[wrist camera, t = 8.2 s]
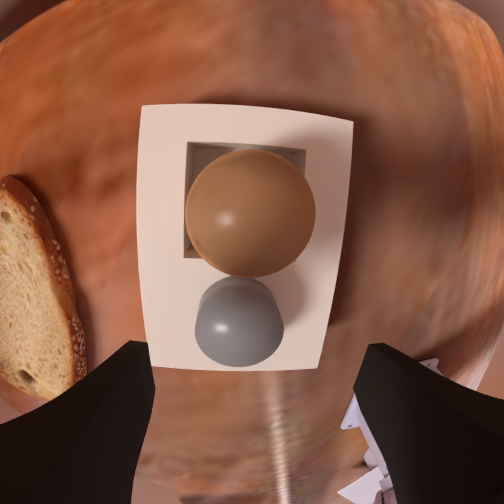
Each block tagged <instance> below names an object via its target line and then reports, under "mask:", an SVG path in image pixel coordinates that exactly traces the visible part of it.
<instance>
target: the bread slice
mask: <svg viewBox="0 0 504 504" xmlns="http://www.w3.org/2000/svg"><path fill="white" fill-rule="evenodd" d="M86 363H87V357H86V345H85V339H84V328H83V326H82V323H81V320H80V318H79V315H78V312H77V309H76V298H75V291H74V288H73V285H72V282H71V279H70V274H69V271H68V268H67V265H66V262H65V260H64V257H63V254H62V251H61V248H60V245H59V242H58V239H57V237H56V235H55V232H54V230H53V228H52V226H51V224H50V222H49V220H48V218H47V216H46V214H45V212H44V211H43V209H42V207H41V205H40V203H39V201H38V200H37V199H36V197H35V196H34V195H33V194H32V192H31V191H30V190H29V189H28V188H27V187H26V186H25V185H24V184H23V183H22V182H21V181H19V180H17V179H15V178H13V177H12V176H7V177H4V178H2V179H1V180H0V373H1V374H2V375H3V377H4V379H6V381H9V383H11V384H12V385H13V386H15V387H16V388H18V389H20V390H22V391H24V392H25V393H27V394H29V395H31V396H33V397H36V398H40V399H43V400H47V401H51V400H52V399H54V398H56V397H57V396H59V395H60V394H62V393H63V392H65V391H66V390H67V389H69V388H70V387H72V386H73V385H74V384H76V383H77V382H79V381H80V380H81V379H83V378H84V377H85V376H86V375H87V369H86Z"/></svg>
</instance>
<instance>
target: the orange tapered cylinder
mask: <svg viewBox="0 0 504 504" xmlns="http://www.w3.org/2000/svg"><path fill="white" fill-rule="evenodd" d="M315 215H316V210H315V201H314V197H313V193H312V191H311V188H310V186H309V184H308V182H307V180H306V179H305V177H304V176H303V174H302V173H301V172H300V171H299V170H298V169H297V168H296V166H294V165H293V164H292V163H291V162H289V161H288V160H286V159H285V158H283V157H281V156H279V155H277V154H275V153H272V152H268V151H264V150H257V149H245V150H238V151H234V152H230V153H228V154H225V155H223V156H221V157H219V158H217V159H216V160H214V161H213V162H211V163H210V164H209V165H208V166H206V167H205V168H204V169H203V170H202V171H201V173H200V174H199V175H198V177H197V178H196V179H195V181H194V183H193V185H192V186H191V189H190V191H189V194H188V197H187V201H186V207H185V222H186V228H187V232H188V235H189V238H190V240H191V242H192V244H193V246H194V248H195V249H196V251H197V252H198V253H199V255H200V256H201V257H202V258H203V259H204V260H205V261H206V262H207V263H208V264H209V265H211V266H212V267H214V268H215V269H217V270H219V271H221V272H223V273H225V274H228V275H231V276H235V277H241V278H258V277H264V276H268V275H271V274H274V273H276V272H278V271H280V270H282V269H284V268H285V267H287V266H288V265H290V264H291V263H292V262H293V261H294V260H295V259H297V258H298V257H299V255H300V254H301V253H302V252H303V250H304V249H305V247H306V246H307V244H308V242H309V240H310V238H311V236H312V232H313V229H314V224H315Z"/></svg>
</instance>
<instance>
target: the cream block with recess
mask: <svg viewBox="0 0 504 504" xmlns="http://www.w3.org/2000/svg"><path fill="white" fill-rule="evenodd" d="M352 140H353V121H349V120H345V119H340V118H335V117H329V116H324V115H318V114H312V113H306V112H300V111H292V110H285V109H276V108H267V107H256V106H243V105H225V104H165V105H147V106H142V111H141V121H140V132H139V145H138V163H137V246H138V264H139V278H140V289H141V299H142V308H143V317H144V324H145V332H146V339H147V343H148V347H149V354H150V361H151V366H158V367H169V368H181V369H196V370H219V371H272V370H295V369H311V368H317V366H318V362H319V359H320V355H321V350H322V346H323V342H324V338H325V333H326V329H327V324H328V320H329V315H330V310H331V305H332V300H333V295H334V290H335V284H336V279H337V273H338V267H339V261H340V255H341V248H342V242H343V234H344V227H345V219H346V211H347V202H348V192H349V182H350V170H351V157H352ZM245 149H257V150H264V151H268V152H272V153H275V154H277V155H279V156H281V157H283V158H285V159H286V160H288V161H289V162H291V163H292V164H293V165H294V166H296V168H297V169H298V170H299V171H300V172H301V173H302V174H303V176H304V177H305V179H306V180H307V182H308V184H309V186H310V188H311V191H312V193H313V197H314V201H315V210H316V215H315V224H314V229H313V232H312V236H311V238H310V240H309V242H308V244H307V246H306V247H305V249H304V250H303V252H302V253H301V254H300V255H299V257H298V258H297V259H295V260H294V261H293V262H292V263H291V264H290V265H288V266H287V267H285V268H284V269H282V270H280V271H278V272H276V273H274V274H271V275H268V276H264V277H258V278H241V277H235V276H231V275H228V274H225V273H223V272H221V271H219V270H217V269H215V268H214V267H212V266H211V265H209V264H208V263H207V262H206V261H205V260H204V259H203V258H202V257H201V256H200V255H199V253H198V252H197V251H196V249H195V248H194V246H193V244H192V242H191V240H190V238H189V235H188V232H187V228H186V222H185V207H186V201H187V197H188V194H189V191H190V189H191V186H192V185H193V183H194V181H195V179H196V178H197V177H198V175H199V174H200V173H201V171H202V170H203V169H204V168H205V167H206V166H208V165H209V164H210V163H211V162H213V161H214V160H216V159H217V158H219V157H221V156H223V155H225V154H228V153H230V152H234V151H238V150H245Z"/></svg>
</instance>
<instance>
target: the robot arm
mask: <svg viewBox="0 0 504 504" xmlns="http://www.w3.org/2000/svg"><path fill="white" fill-rule="evenodd" d="M438 362H439V360H438V359H437V358H433V359H429V360H425V361H421V362H417V361H416V360H414V359H412V358H410V357H409V356H407V355H405V354H404V353H402V352H400V351H398V350H397V349H395V348H393V347H391V346H389V345H387V344H385V343H376V344H369V345H368V348H367V351H366V354H365V357H364V359H363V362H362V365H361V368H360V371H359V373H358V376H357V378H356V381H355V384H354V386H353V389H354V392H355V394H354V396H353V399H352V401H351V403H350V406H349V408H348V410H347V412H346V415H345V417H344V419H343V421H342V423H341V429H349V428H354V427H360V429H361V431H362V433H363V435H364V437H365V439H366V441H367V443H368V445H369V448H370V450H371V452H372V454H373V456H374V458H375V460H376V462H377V464H378V467H379V469H380V471H381V473H382V475H383V477H384V479H382V480H381V481H379V485H380V487H381V490H379V491H378V492H377V494H376V496H375V500H374V504H504V400H503V399H498V398H495V397H491V396H488V395H485V394H482V393H479V392H477V391H474V390H472V389H469V388H467V387H464V386H462V385H460V384H458V383H456V382H454V381H452V380H450V379H448V378H446V377H445V376H444V375H443V374H442V373H441V372H440V371H439V370H438V369H437V368H436V366H437V364H438ZM154 395H155V384H154V378H153V373H152V367H151V361H150V354H149V347H148V343H147V342H139V341H131V340H130V341H128V342H127V343H126V344H125V345H123V346H122V347H121V348H120V349H118V350H117V351H116V352H115V353H114V354H113V355H111V356H110V357H109V358H108V359H107V360H105V361H104V362H103V363H102V364H100V365H99V366H98V367H97V368H96V369H94V370H93V371H92V372H91V373H89V374H88V375H87V376H85V377H84V378H83V379H81V380H80V381H79V382H77V383H76V384H74V385H73V386H72V387H70V388H69V389H67V390H66V391H65V392H63V393H62V394H60V395H59V396H57V397H56V398H54V399H52V400H51V401H49V402H47V403H45V404H44V405H42V406H40V407H38V408H37V409H35V410H33V411H31V412H29V413H26V414H24V415H22V416H20V417H17V418H15V419H13V420H10V421H8V422H6V423H3V424H0V504H131V496H132V488H133V480H134V475H135V470H136V466H137V462H138V459H139V455H140V452H141V448H142V445H143V441H144V438H145V434H146V431H147V427H148V424H149V421H150V417H151V413H152V407H153V401H154Z"/></svg>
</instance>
